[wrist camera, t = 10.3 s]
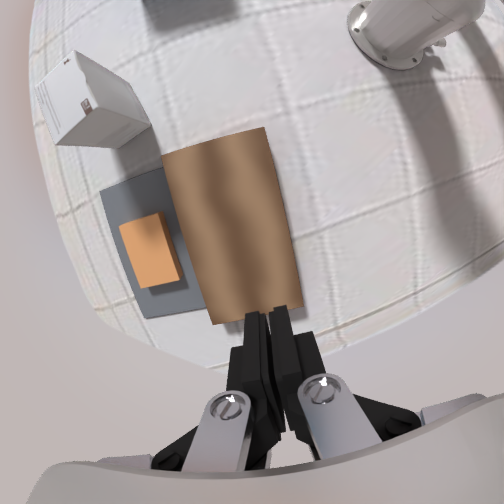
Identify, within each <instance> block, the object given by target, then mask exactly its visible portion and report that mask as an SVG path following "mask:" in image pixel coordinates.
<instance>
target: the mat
mask: <svg viewBox="0 0 504 504" xmlns="http://www.w3.org/2000/svg"><path fill="white" fill-rule="evenodd" d="M100 195H101V199H102V202H103V206H104V209H105V213H106V216H107V220H108V223H109V226H110V229H111V233H112V236H113V239H114V242H115V245H116V248H117V251H118V253H119V256H120V259H121V262H122V265H123V267H124V270H125V273H126V275H127V278H128V280H129V283H130V286H131V288H132V291H133V293H134V295H135V298H136V300H137V303H138V305H139V307H140V310H141V312H142V314H143V316H144V318H149V317H155V316H161V315H167V314H172V313H178V312H184V311H189V310H195V309H200V308H205V307H206V305H205V302H204V299H203V296H202V293H201V290H200V287H199V284H198V281H197V278H196V275H195V272H194V269H193V266H192V263H191V260H190V257H189V254H188V251H187V247H186V244H185V241H184V238H183V234H182V231H181V228H180V224H179V221H178V218H177V214H176V211H175V207H174V204H173V200H172V196H171V193H170V189H169V185H168V182H167V178H166V174H165V170H164V167H162V168H160V169H157V170H154V171H151V172H148V173H145V174H143V175H140V176H137V177H134V178H132V179H129V180H127V181H124V182H121V183H119V184H116V185H114V186H111V187H109V188H107V189H104V190H102V191H100ZM161 211H163V213H164V216H165V220H166V223H167V226H168V230H169V233H170V236H171V239H172V242H173V245H174V248H175V251H176V254H177V257H178V260H179V263H180V266H181V269H182V272H183V275H182V277H181V279H180V280H177V281H173V282H168V283H164V284H159V285H155V286H150V287H146V288H140V285H139V283H138V280H137V277H136V275H135V272H134V269H133V267H132V264H131V261H130V259H129V256H128V253H127V250H126V247H125V244H124V241H123V238H122V235H121V232H120V229H119V226H120V225H122V224H124V223H127V222H130V221H133V220H136V219H139V218H142V217H145V216H148V215H152V214H155V213H158V212H161Z"/></svg>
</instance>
